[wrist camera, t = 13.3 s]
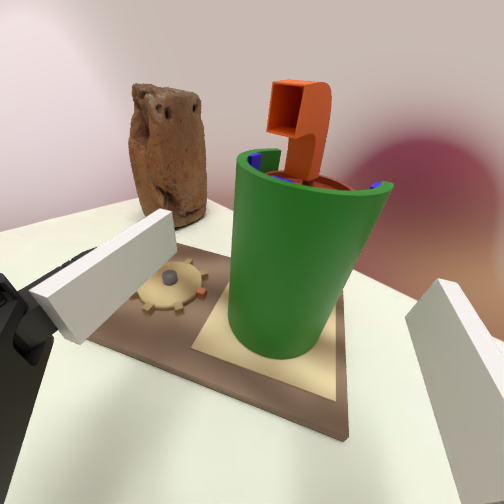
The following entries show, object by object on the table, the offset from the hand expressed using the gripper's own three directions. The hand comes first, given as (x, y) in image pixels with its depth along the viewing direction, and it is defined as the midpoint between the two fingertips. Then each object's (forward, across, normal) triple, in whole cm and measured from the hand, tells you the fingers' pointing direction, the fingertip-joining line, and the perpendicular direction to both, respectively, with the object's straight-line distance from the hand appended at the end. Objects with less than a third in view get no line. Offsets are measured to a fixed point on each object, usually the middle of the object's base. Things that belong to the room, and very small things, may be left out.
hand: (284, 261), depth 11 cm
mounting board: (+6, -5, -14) cm, 16 cm away
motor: (+6, 0, -13) cm, 14 cm away
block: (+22, -22, -14) cm, 34 cm away
